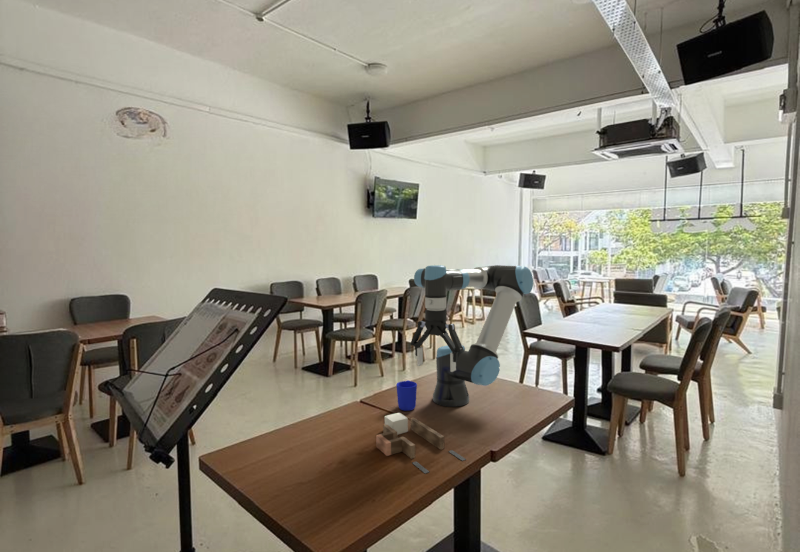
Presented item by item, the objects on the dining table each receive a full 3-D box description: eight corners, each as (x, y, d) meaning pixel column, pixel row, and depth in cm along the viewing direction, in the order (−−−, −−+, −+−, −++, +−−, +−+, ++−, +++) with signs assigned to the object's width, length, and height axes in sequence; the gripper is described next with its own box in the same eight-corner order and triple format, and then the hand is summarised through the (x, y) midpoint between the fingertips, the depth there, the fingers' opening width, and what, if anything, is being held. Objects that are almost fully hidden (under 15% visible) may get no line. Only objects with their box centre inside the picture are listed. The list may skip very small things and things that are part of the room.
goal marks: (412, 463, 129) (412, 462, 129) (452, 450, 137) (452, 449, 137) (425, 473, 123) (425, 473, 123) (466, 459, 131) (466, 459, 131)
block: (384, 429, 154) (384, 416, 153) (399, 425, 157) (399, 412, 156) (393, 436, 148) (392, 421, 148) (407, 431, 152) (407, 418, 151)
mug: (418, 401, 180) (418, 378, 180) (416, 412, 168) (416, 387, 168) (398, 401, 181) (398, 377, 180) (395, 412, 169) (395, 387, 168)
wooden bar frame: (369, 440, 145) (368, 429, 145) (414, 428, 154) (414, 417, 154) (395, 463, 129) (395, 450, 129) (444, 448, 138) (444, 436, 138)
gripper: (400, 307, 157) (401, 365, 158) (462, 313, 142) (463, 376, 144) (412, 305, 163) (412, 360, 164) (472, 310, 148) (472, 370, 150)
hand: (436, 368), depth 154 cm, fingers open, 13 cm apart
